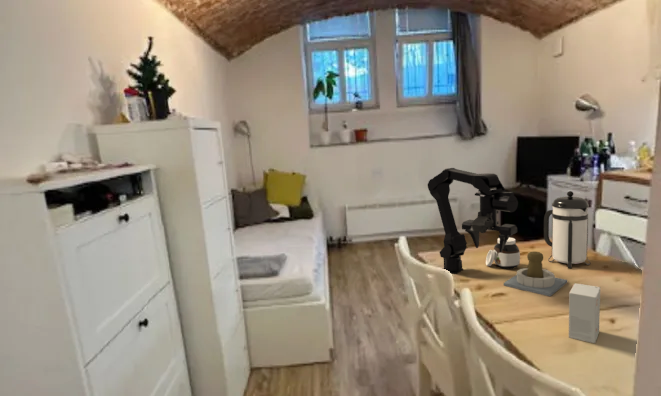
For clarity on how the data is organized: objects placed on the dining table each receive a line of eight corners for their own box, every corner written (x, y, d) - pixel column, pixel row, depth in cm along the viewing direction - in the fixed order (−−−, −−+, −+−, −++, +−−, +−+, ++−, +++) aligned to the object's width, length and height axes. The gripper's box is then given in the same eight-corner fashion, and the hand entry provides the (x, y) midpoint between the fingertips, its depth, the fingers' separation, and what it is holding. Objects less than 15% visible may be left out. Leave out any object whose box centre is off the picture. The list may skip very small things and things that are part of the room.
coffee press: (590, 258, 167) (592, 188, 163) (590, 271, 154) (592, 194, 150) (543, 254, 177) (544, 187, 172) (540, 266, 164) (540, 193, 159)
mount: (503, 285, 147) (503, 275, 146) (522, 273, 157) (522, 263, 157) (550, 296, 135) (550, 285, 134) (567, 282, 145) (567, 272, 145)
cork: (548, 282, 144) (548, 253, 143) (535, 285, 142) (535, 255, 141) (534, 277, 150) (534, 248, 148) (522, 280, 148) (522, 251, 146)
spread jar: (523, 268, 162) (523, 240, 160) (498, 273, 160) (498, 244, 158) (503, 260, 174) (503, 234, 172) (480, 264, 171) (480, 237, 169)
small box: (573, 325, 115) (574, 282, 113) (599, 331, 111) (601, 286, 109) (567, 337, 109) (568, 292, 107) (595, 344, 105) (596, 297, 103)
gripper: (453, 210, 147) (454, 250, 150) (503, 215, 133) (503, 260, 136) (469, 205, 155) (469, 244, 157) (517, 209, 141) (517, 252, 143)
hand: (488, 249), depth 148 cm, fingers open, 9 cm apart
